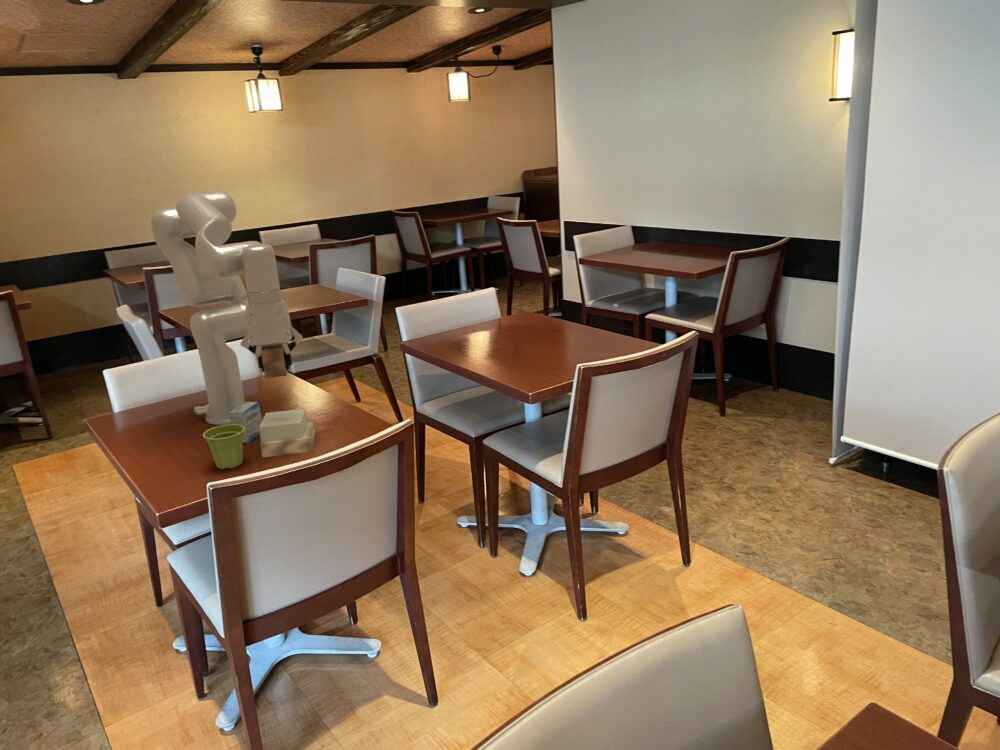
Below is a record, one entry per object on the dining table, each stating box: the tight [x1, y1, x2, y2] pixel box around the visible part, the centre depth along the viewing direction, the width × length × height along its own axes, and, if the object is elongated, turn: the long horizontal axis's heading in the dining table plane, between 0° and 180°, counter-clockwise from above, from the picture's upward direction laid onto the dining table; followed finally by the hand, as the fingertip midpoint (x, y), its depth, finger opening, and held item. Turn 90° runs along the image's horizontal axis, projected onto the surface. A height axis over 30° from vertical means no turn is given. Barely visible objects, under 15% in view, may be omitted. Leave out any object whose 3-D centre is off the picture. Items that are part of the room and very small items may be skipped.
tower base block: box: [259, 421, 316, 458], centre depth 190 cm, size 12×12×4 cm
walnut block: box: [261, 344, 289, 379], centre depth 183 cm, size 5×5×7 cm
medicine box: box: [229, 401, 263, 444], centre depth 196 cm, size 8×4×9 cm, turn 168°
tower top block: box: [259, 408, 309, 443], centre depth 189 cm, size 10×10×4 cm
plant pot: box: [202, 424, 245, 470], centre depth 180 cm, size 9×9×9 cm
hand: (276, 368), depth 184 cm, fingers closed on walnut block, 4 cm apart
